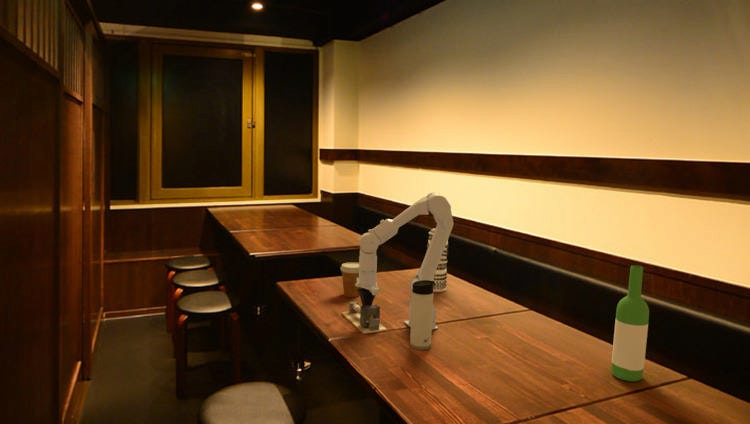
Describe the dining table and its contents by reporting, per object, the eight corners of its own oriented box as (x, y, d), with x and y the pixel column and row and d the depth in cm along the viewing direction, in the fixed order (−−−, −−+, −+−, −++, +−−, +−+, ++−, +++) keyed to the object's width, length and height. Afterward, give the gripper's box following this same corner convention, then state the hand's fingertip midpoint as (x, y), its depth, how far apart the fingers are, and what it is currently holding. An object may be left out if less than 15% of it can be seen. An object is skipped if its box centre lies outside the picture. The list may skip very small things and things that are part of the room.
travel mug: (431, 351, 154) (433, 284, 152) (408, 348, 156) (411, 282, 153) (433, 343, 160) (435, 279, 158) (411, 341, 162) (413, 277, 159)
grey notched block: (379, 325, 172) (379, 307, 171) (363, 327, 170) (363, 309, 169) (375, 322, 175) (376, 304, 174) (360, 324, 173) (360, 306, 172)
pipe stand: (386, 330, 170) (386, 318, 169) (363, 333, 167) (363, 321, 166) (363, 311, 188) (363, 300, 188) (341, 313, 185) (342, 302, 184)
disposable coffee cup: (336, 292, 210) (336, 263, 208) (358, 290, 214) (359, 261, 212) (345, 299, 201) (345, 268, 200) (368, 297, 205) (368, 266, 204)
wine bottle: (615, 367, 147) (625, 261, 142) (645, 376, 142) (657, 266, 138) (606, 376, 141) (616, 266, 136) (638, 386, 136) (649, 271, 132)
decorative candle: (450, 288, 221) (453, 228, 217) (441, 293, 213) (444, 232, 209) (431, 284, 225) (433, 226, 222) (421, 289, 218) (423, 229, 214)
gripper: (348, 265, 177) (347, 305, 179) (364, 276, 164) (363, 318, 166) (367, 264, 180) (367, 303, 182) (385, 274, 167) (384, 316, 169)
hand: (366, 310), depth 174 cm, fingers closed
